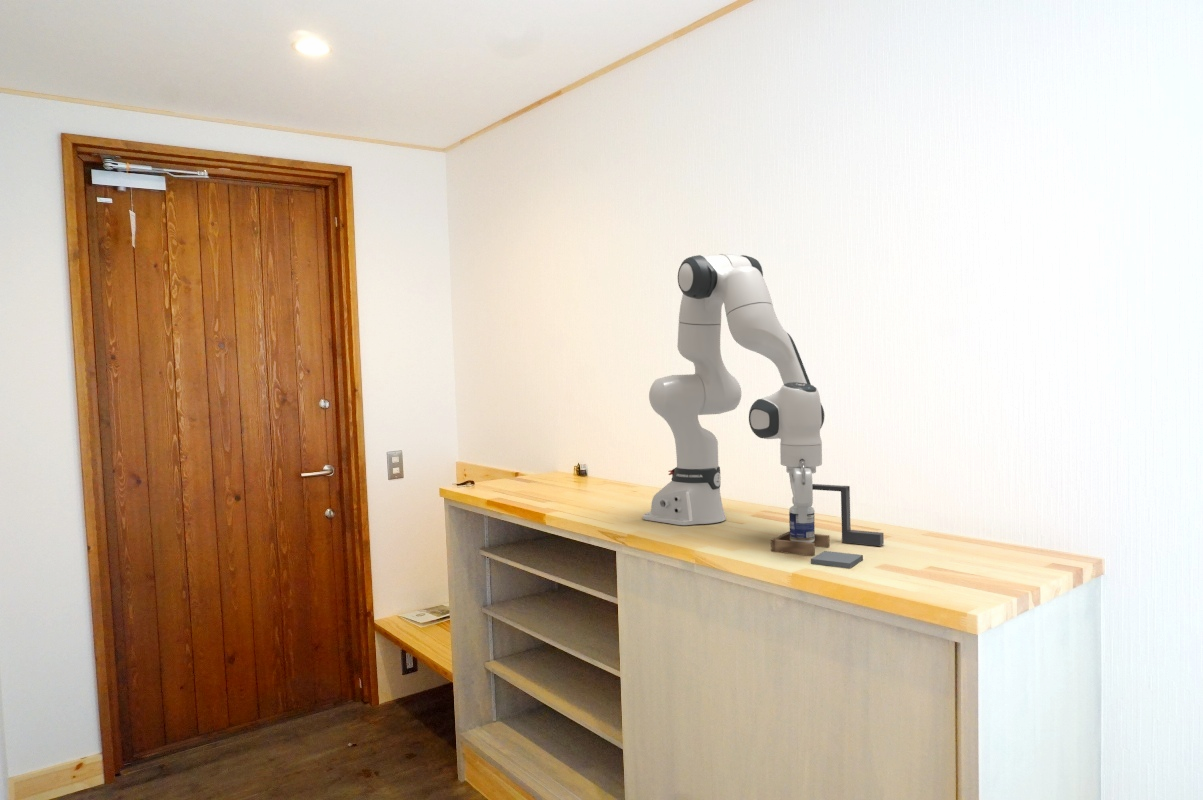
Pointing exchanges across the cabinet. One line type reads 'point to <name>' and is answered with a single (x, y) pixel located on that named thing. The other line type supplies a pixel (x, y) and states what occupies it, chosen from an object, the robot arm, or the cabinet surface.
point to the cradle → (798, 544)
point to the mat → (837, 559)
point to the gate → (847, 533)
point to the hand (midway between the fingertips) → (801, 519)
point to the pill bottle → (801, 525)
